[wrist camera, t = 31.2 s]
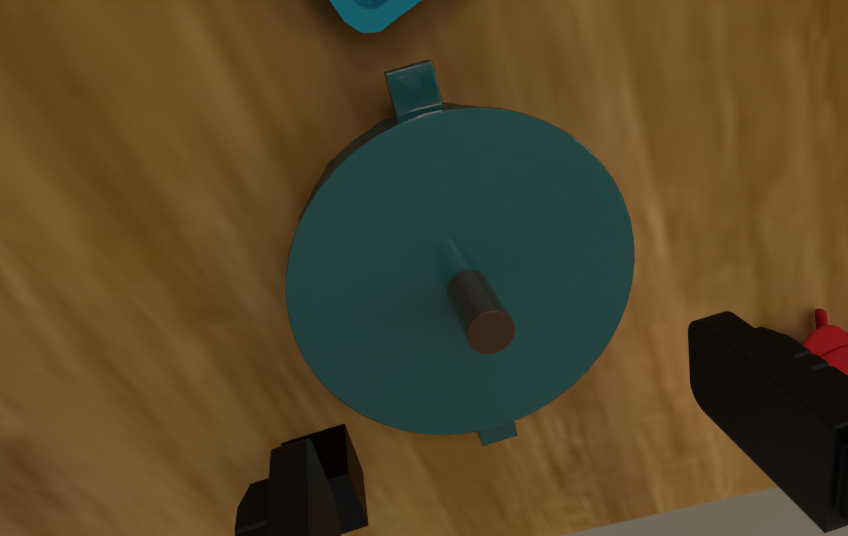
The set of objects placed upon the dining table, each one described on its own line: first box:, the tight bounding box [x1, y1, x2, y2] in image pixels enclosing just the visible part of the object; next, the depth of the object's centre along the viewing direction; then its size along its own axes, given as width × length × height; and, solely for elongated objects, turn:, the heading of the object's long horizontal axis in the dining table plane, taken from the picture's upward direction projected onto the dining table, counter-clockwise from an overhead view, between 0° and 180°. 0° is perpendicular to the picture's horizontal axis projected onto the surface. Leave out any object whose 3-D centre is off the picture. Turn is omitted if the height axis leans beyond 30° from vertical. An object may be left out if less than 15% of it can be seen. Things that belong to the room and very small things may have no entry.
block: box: [281, 424, 368, 534], centre depth 40 cm, size 4×4×5 cm
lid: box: [286, 106, 634, 435], centre depth 32 cm, size 20×20×6 cm
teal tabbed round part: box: [298, 60, 517, 446], centre depth 36 cm, size 19×24×4 cm
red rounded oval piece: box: [803, 309, 848, 375], centre depth 42 cm, size 8×6×6 cm
